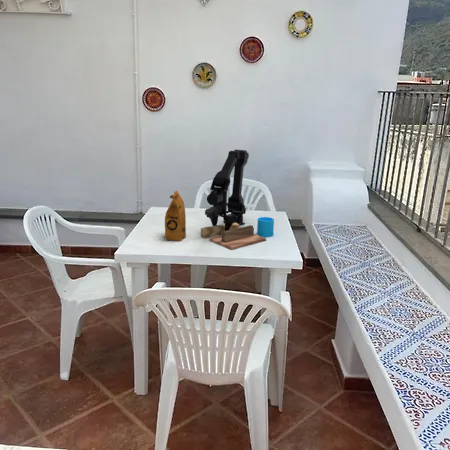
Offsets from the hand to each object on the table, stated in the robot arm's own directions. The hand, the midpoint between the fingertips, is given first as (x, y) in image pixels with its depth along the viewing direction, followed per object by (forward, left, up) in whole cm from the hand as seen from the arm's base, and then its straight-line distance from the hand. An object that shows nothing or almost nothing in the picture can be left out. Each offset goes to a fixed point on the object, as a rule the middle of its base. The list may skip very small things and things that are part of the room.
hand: (220, 231), depth 220 cm
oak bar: (0, 0, -2) cm, 2 cm away
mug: (+13, +19, -2) cm, 23 cm away
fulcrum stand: (+13, 0, -1) cm, 13 cm away
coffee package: (-9, -21, -2) cm, 23 cm away
